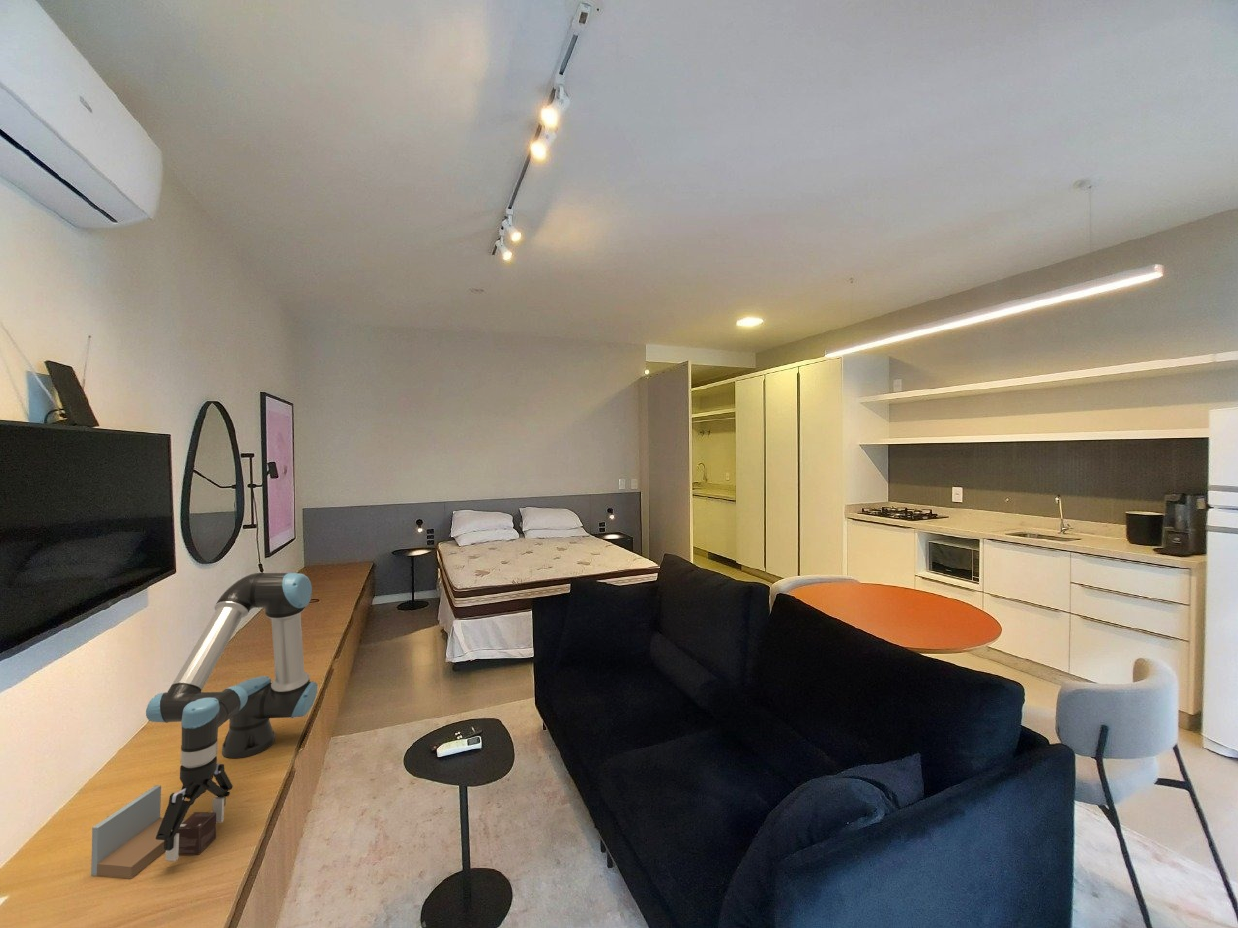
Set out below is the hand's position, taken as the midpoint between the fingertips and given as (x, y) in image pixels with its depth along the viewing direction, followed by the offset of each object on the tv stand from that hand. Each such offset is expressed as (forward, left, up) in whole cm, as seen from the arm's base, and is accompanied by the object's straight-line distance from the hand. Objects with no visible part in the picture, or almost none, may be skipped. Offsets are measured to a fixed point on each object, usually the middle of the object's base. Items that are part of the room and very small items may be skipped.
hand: (196, 839), depth 133 cm
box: (0, 0, -2) cm, 2 cm away
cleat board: (+3, -12, -2) cm, 13 cm away
